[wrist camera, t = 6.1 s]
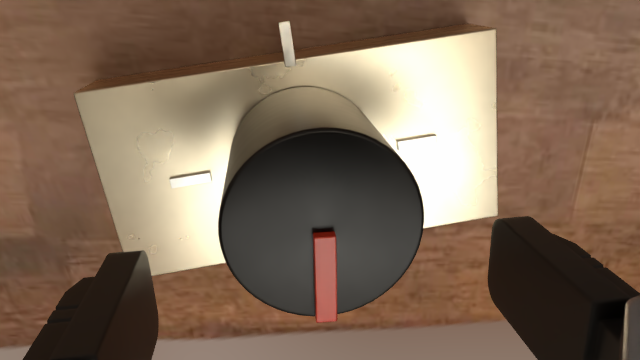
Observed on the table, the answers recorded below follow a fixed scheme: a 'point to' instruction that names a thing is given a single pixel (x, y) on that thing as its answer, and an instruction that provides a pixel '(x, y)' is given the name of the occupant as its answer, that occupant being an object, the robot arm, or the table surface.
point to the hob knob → (316, 206)
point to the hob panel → (269, 78)
